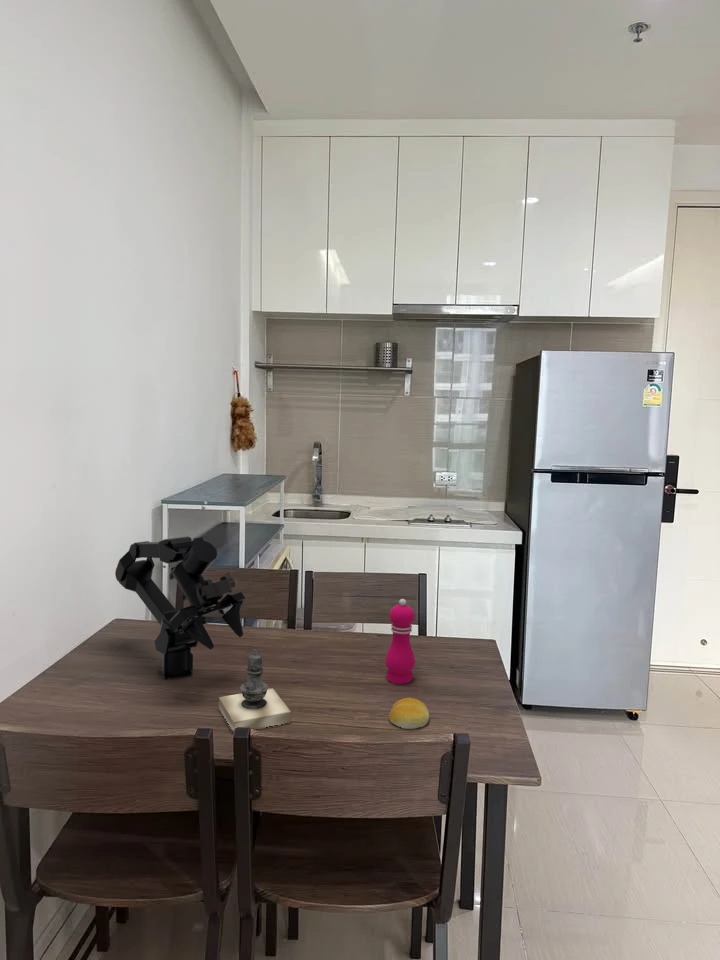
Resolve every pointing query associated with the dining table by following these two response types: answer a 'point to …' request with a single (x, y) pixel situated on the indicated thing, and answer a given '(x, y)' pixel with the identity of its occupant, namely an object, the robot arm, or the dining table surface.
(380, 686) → the dining table surface
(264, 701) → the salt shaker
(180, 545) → the robot arm
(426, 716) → the bread roll
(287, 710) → the plate
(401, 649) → the pepper mill
